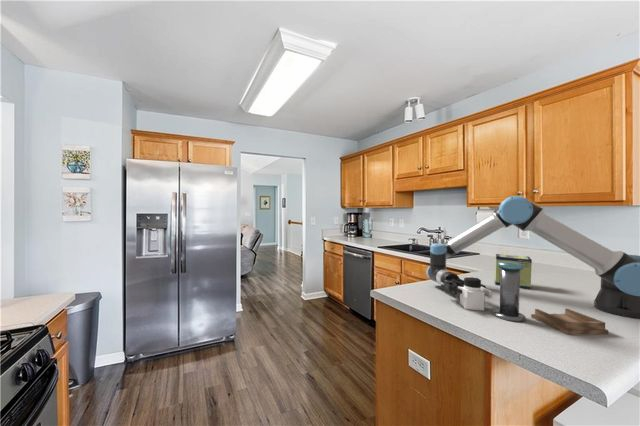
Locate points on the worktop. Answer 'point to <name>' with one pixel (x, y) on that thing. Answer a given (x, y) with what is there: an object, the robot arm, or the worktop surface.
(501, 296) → the bobbin post
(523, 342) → the worktop surface
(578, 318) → the notched board
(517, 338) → the worktop surface
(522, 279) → the protein box
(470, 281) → the medicine bottle
